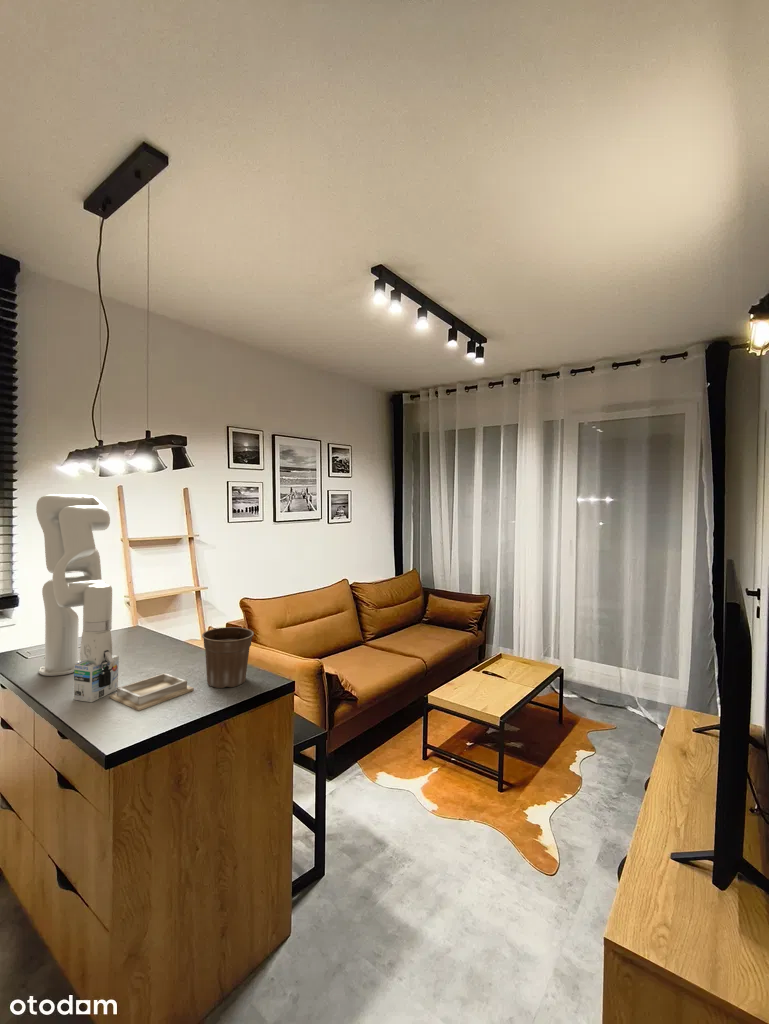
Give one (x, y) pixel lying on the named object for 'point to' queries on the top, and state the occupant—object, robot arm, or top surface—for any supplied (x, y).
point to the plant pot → (227, 655)
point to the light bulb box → (93, 681)
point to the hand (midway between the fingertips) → (96, 682)
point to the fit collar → (151, 691)
